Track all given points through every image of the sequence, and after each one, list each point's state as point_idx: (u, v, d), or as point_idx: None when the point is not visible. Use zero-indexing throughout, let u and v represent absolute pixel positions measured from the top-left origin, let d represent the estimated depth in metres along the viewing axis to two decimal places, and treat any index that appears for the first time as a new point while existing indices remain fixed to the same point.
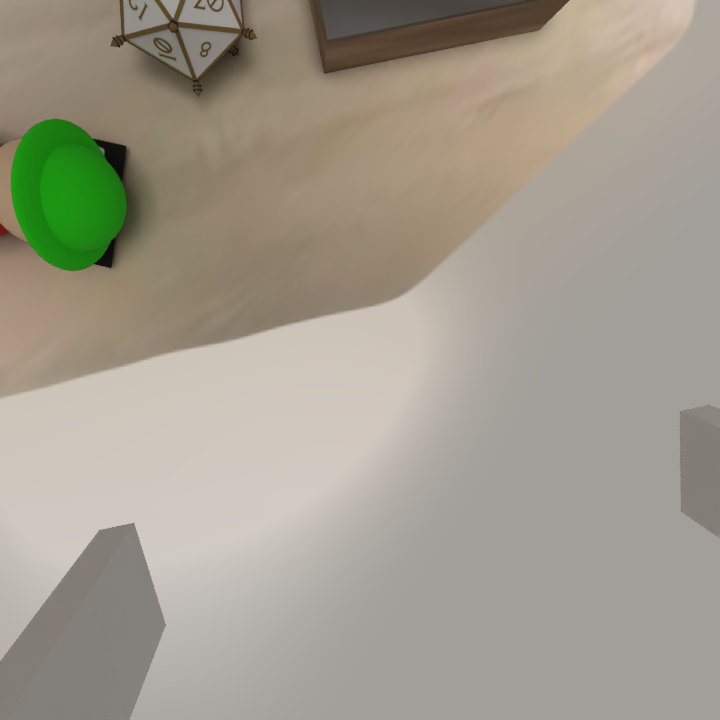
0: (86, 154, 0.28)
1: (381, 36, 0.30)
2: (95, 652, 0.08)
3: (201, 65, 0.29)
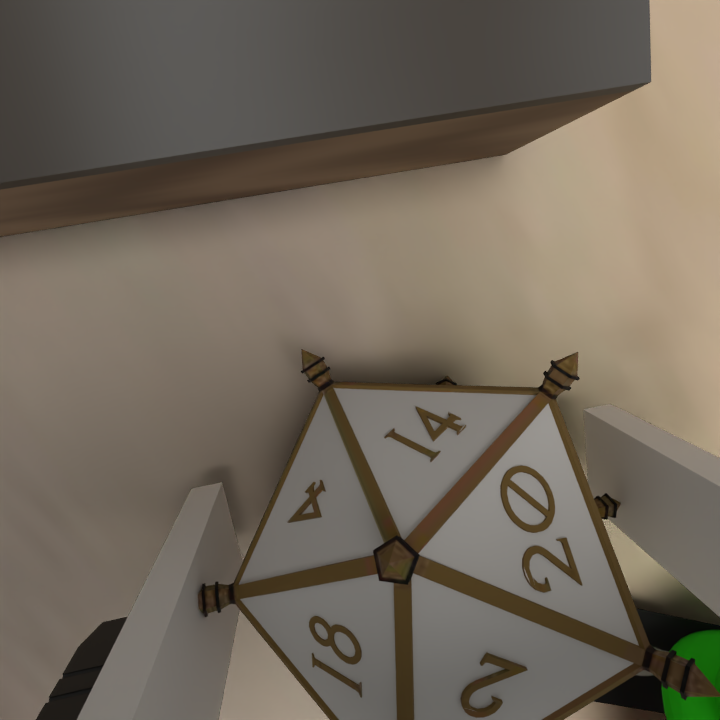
0: None
1: None
2: (210, 584, 0.09)
3: None
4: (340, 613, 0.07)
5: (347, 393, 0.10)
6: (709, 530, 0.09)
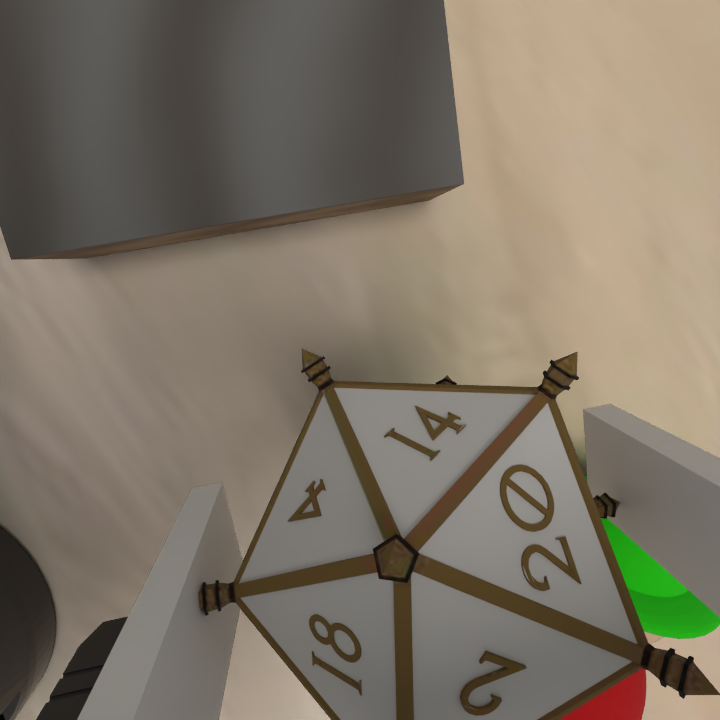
0: None
1: None
2: None
3: None
4: (341, 611, 0.07)
5: (347, 393, 0.10)
6: (709, 530, 0.09)
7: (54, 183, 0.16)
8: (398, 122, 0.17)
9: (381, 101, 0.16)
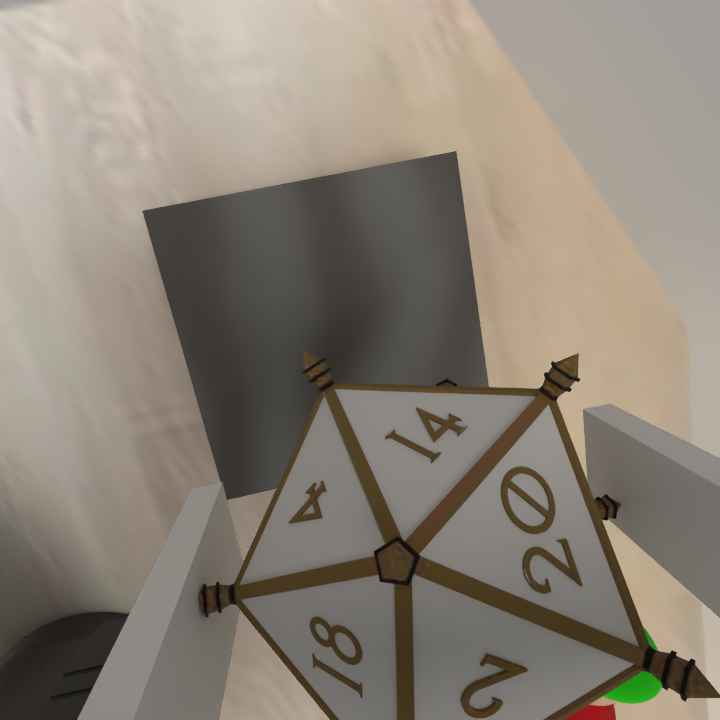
0: None
1: None
2: (210, 584, 0.10)
3: None
4: (341, 613, 0.07)
5: (348, 394, 0.10)
6: (709, 530, 0.09)
7: (253, 457, 0.27)
8: None
9: None
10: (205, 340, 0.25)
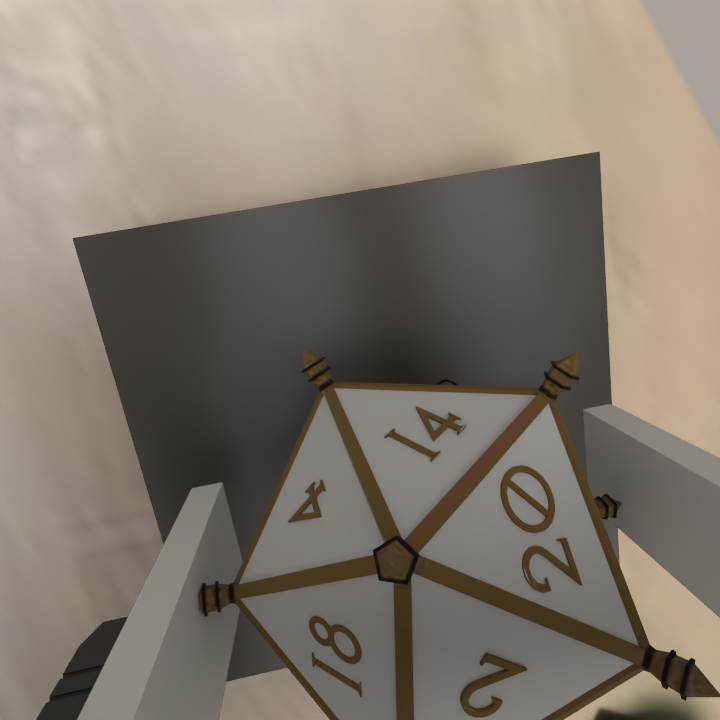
0: None
1: None
2: (210, 584, 0.10)
3: None
4: (340, 612, 0.07)
5: (347, 394, 0.10)
6: (709, 530, 0.09)
7: (251, 623, 0.17)
8: None
9: None
10: (177, 449, 0.15)
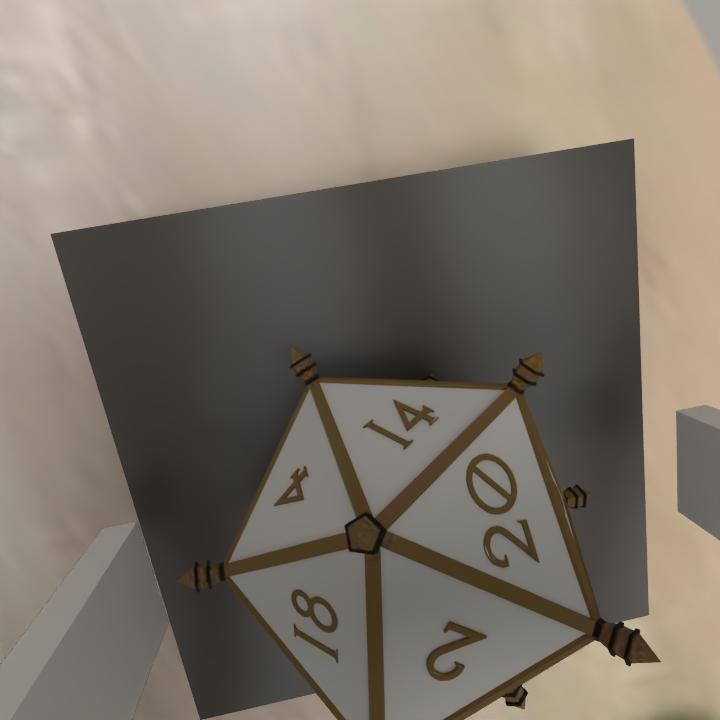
0: None
1: None
2: (99, 649, 0.08)
3: None
4: (319, 585, 0.08)
5: (332, 387, 0.10)
6: None
7: (249, 652, 0.16)
8: (590, 571, 0.16)
9: None
10: (168, 465, 0.14)
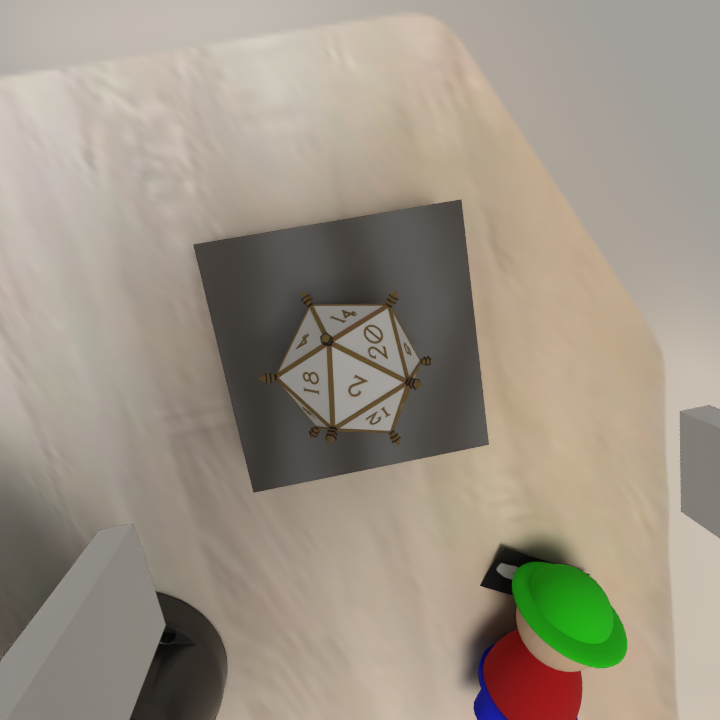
0: (552, 599, 0.35)
1: None
2: (95, 652, 0.08)
3: (413, 354, 0.26)
4: (312, 367, 0.23)
5: (318, 307, 0.25)
6: None
7: (278, 455, 0.31)
8: (455, 418, 0.32)
9: (446, 408, 0.31)
10: (241, 355, 0.29)
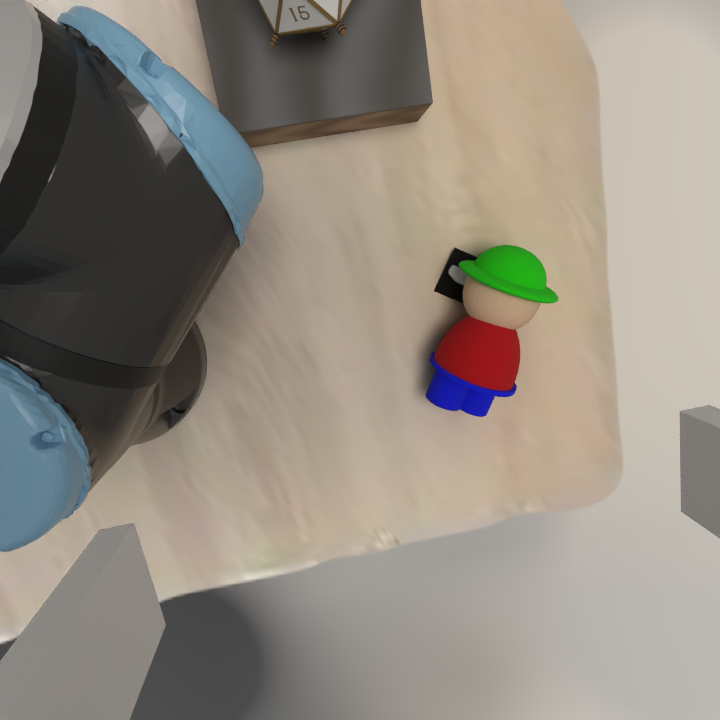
0: (491, 256, 0.39)
1: None
2: (95, 652, 0.08)
3: None
4: None
5: None
6: None
7: (246, 98, 0.35)
8: (402, 72, 0.36)
9: (394, 62, 0.36)
10: None
